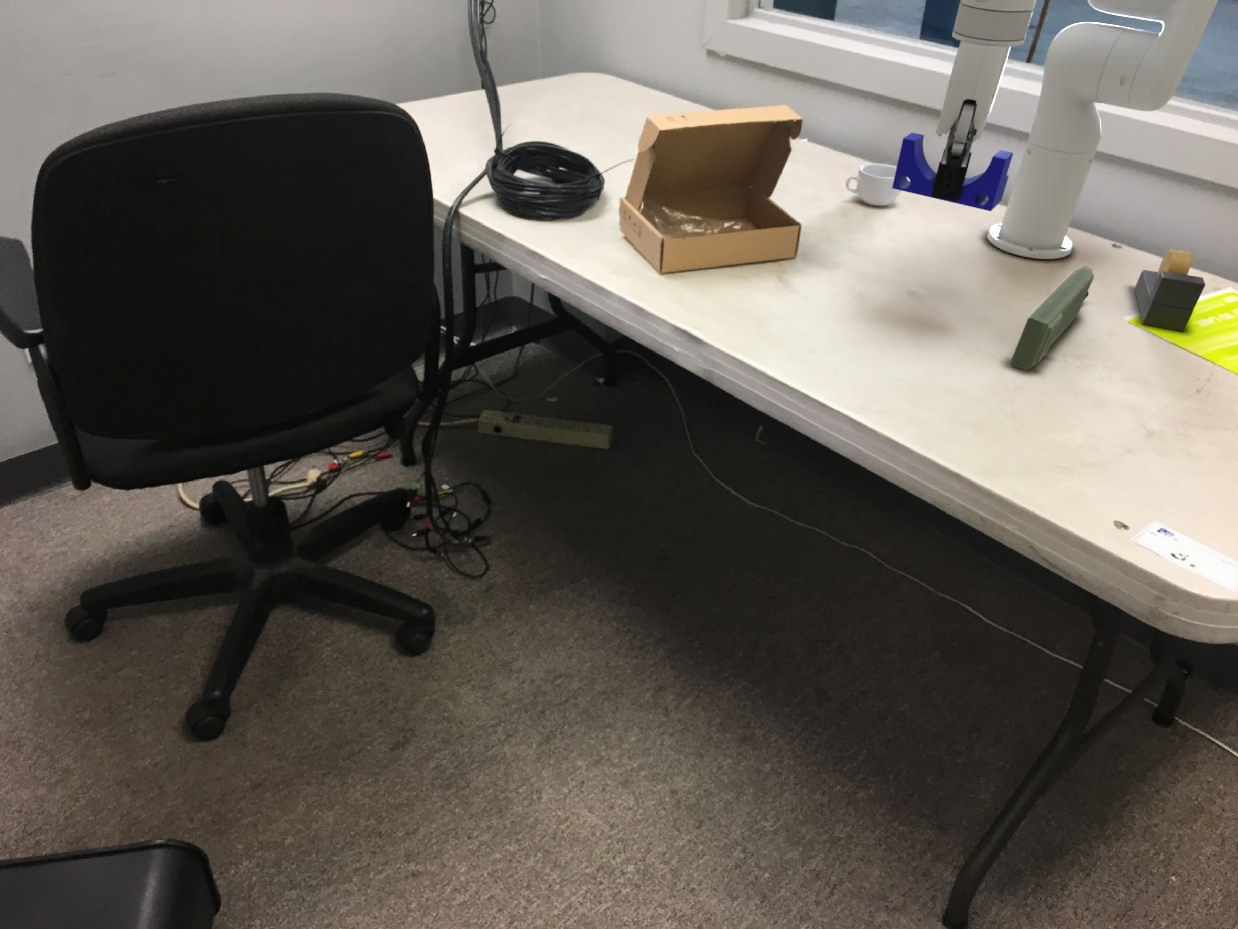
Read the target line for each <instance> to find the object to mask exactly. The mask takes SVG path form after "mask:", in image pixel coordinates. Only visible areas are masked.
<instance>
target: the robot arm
mask: <svg viewBox="0 0 1238 929" xmlns="http://www.w3.org/2000/svg"><path fill="white" fill-rule="evenodd" d="M1218 1H1219V0H1087V3H1088V4H1089V6H1091V7H1092V8H1093V9H1094V10H1097V11H1099V12H1103V13H1105V14H1110V15H1115V16H1120V17H1127V18H1134V19H1139V20H1146V21H1153V22H1158V23H1160V24H1162V30H1161V32H1156V31H1150V30H1144V29H1138V28H1131V27H1129V26H1122V25H1115V24H1109V23H1101V22H1093V21H1092V22H1091V21H1087V22H1086V21H1084V22H1077V23H1073V24H1071V25H1068V26H1066V27H1064V28H1063V29H1061V30H1060V31H1059V32H1058V33H1057V34H1056V35H1055V37H1054V38H1053V40H1052V41H1051V42H1050V45H1049V47H1048V49H1047V53H1046V56H1045V62H1044V68H1043V75H1042V82H1041V88H1040V95H1039V100H1038V104H1037V108H1036V112H1035V115H1034V119H1033V122H1032V126H1031V129H1030V132H1029V135H1028V139H1027V141H1026V145H1025V148H1024V151H1023V154H1022V158H1021V161H1020V164H1019V166H1018V169H1017V174H1016V177H1015V180H1014V183H1013V185H1012V190H1011V192H1010V195H1009V199H1008V202H1007V205H1006V209H1005V212H1004V215H1003V218H1002V222H1000V223H996V224H994V225H992V226H991V227H989V229H988V233H987V239H988V242H990V243H991V244H992V245H993V246H994V247H996V248H998V249H1000V250H1001V251H1004V252H1007V253H1010V254H1012V255H1015V256H1019V257H1025V258H1029V259H1038V260H1055V259H1061V258H1065V257H1068V256H1069V255H1070V254H1071V253H1072V250H1073V248H1074V243H1073V241H1072V239H1070V238H1069V237H1068V236H1067V233H1068V230H1069V228H1070V224H1071V221H1072V219H1073V216H1074V213H1075V210H1076V208H1077V206H1078V202H1079V200H1080V196H1081V194H1082V191H1083V188H1084V186H1085V184H1086V181H1087V177H1088V174H1089V172H1090V169H1091V167H1092V163H1093V160H1094V158H1095V155H1096V152H1097V150H1098V147H1099V145H1100V142H1101V138H1102V121H1101V117H1100V113H1099V110H1098V107H1097V104H1103V105H1104V104H1105V105H1109V106H1115V107H1119V108H1125V109H1127V110H1128V109H1129V110H1134V111H1141V112H1154V111H1157V110H1160V109H1162V108H1164V107H1165V106H1166V105H1167V104H1168V103H1169V102H1170V101H1171V99H1172V98H1173V97H1174V95H1175V93H1176V91H1177V90H1178V88H1179V86H1180V84H1181V82H1182V80H1183V78H1184V76H1185V74H1186V72H1187V70H1188V67H1189V65H1190V63H1191V61H1192V58H1193V56H1194V54H1195V52H1196V49H1197V48H1198V46H1199V43H1200V41H1201V39H1202V37H1203V34H1204V32H1205V30H1206V28H1207V25H1208V23H1209V21H1210V19H1211V17H1212V15H1213V13H1214V10H1215V9H1216V6H1217V4H1218ZM1036 2H1037V0H960V2H959V5H958V10H957V14H956V18H955V21H954V26H953V30H952V34H951V37H952V38H954V39H955V40H957V41H960V42H959V46H958V47H957V48H958V49H957V52H956V54H955V58H954V61H953V65H952V69H951V72H950V75H949V80H948V83H947V88H946V91H945V95H944V99H943V104H942V108H941V112H940V116H939V120H938V124H937V126H936V127H937V128H936V131H935V133H936V135H937V136H938V137H942V135H947V134H948V136H947V141H946V143H945V144H946V145H945V148H944V149H943V152H942V156H941V160H940V161H939V163H938V167H937V169H936V170H937V171H936V173H937V174H936V178H935V182H934V186H933V190H932V194H931V195H932V197H934V198H933V199H936V198H940V199H946V200H952V201H958V200H959V198H960V194H961V191H962V187H963V184H964V180H965V178H966V176H967V173H968V169H969V166H970V161H971V157H972V152H971V150H972V145H973V143H974V142H976V141H978V140H980V139H981V136H982V134H983V131H984V129H985V127H986V124H987V121H988V119H989V117H990V114H991V111H992V109H993V107H994V106H993V105H994V103H995V100H996V97H997V93H998V91H999V88H1000V84H1001V81H1002V77H1003V74H1004V72H1005V68H1006V64H1007V62H1008V57H1009V55H1010V50H1011V47H1019V46H1022V45H1024V43H1025V40H1026V36H1027V34H1028V29H1029V27H1030V23H1031V19H1032V16H1033V13H1034V10H1035V9H1034V8H1035V5H1036ZM940 199H939V200H940Z"/></svg>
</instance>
